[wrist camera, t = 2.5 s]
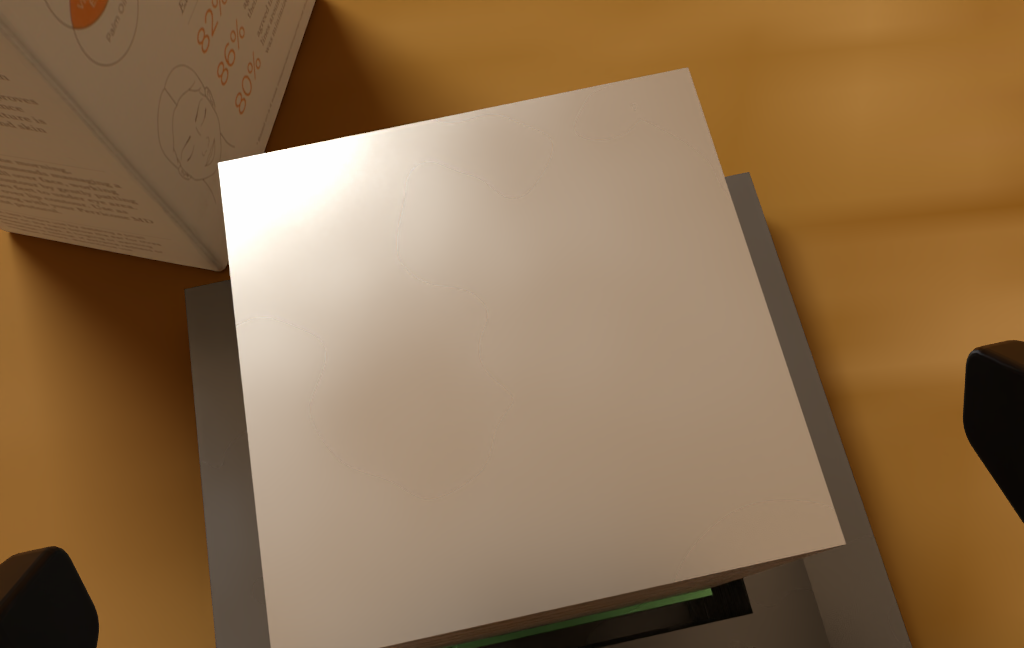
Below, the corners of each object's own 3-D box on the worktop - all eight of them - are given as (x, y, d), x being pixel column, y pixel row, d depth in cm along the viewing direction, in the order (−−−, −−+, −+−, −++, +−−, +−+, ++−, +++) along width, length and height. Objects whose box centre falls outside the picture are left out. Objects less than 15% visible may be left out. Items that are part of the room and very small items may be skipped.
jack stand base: (934, 788, 16) (1162, 875, 10) (266, 942, 15) (92, 1129, 9) (737, 198, 20) (816, 14, 14) (205, 309, 19) (57, 167, 14)
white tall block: (672, 606, 15) (861, 554, 6) (438, 658, 15) (262, 686, 6) (613, 382, 17) (694, 57, 7) (399, 428, 17) (207, 156, 7)
